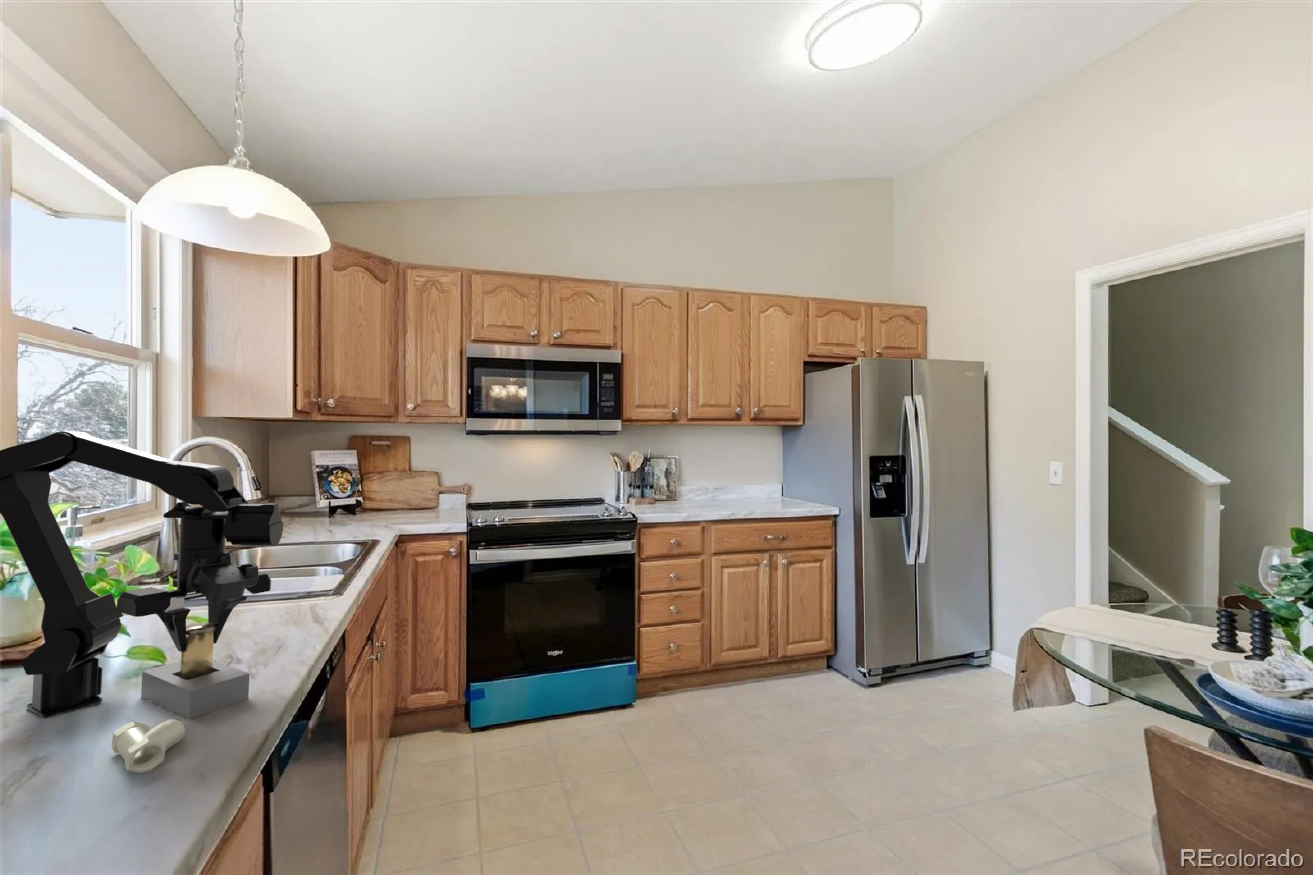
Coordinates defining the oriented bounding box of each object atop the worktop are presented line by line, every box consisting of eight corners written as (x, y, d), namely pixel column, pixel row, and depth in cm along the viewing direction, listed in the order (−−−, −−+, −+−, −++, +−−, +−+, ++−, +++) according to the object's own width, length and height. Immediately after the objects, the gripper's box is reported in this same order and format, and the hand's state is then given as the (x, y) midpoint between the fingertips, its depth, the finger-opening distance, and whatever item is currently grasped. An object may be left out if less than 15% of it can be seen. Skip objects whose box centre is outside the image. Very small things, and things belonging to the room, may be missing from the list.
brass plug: (187, 688, 89) (190, 631, 89) (173, 682, 91) (176, 627, 91) (217, 679, 93) (219, 625, 93) (203, 674, 95) (206, 621, 95)
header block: (188, 719, 85) (190, 691, 85) (141, 697, 92) (142, 671, 92) (248, 699, 92) (249, 673, 92) (200, 680, 99) (201, 655, 99)
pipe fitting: (175, 740, 80) (109, 756, 75) (180, 710, 81) (114, 724, 75) (195, 760, 76) (126, 779, 70) (200, 729, 76) (131, 745, 71)
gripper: (160, 562, 80) (154, 677, 80) (294, 544, 97) (289, 639, 97) (117, 553, 85) (111, 662, 85) (252, 537, 102) (248, 628, 102)
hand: (197, 647), depth 92 cm, fingers closed on brass plug, 4 cm apart
